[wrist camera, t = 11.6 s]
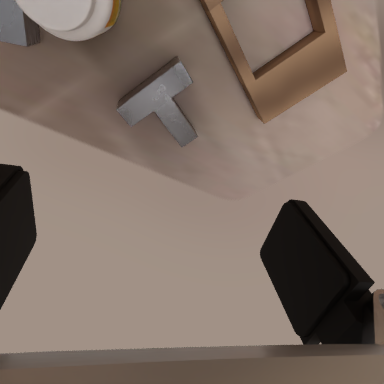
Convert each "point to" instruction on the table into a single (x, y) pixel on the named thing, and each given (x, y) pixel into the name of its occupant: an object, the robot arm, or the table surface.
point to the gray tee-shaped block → (160, 101)
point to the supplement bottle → (73, 16)
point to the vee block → (17, 25)
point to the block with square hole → (285, 61)
